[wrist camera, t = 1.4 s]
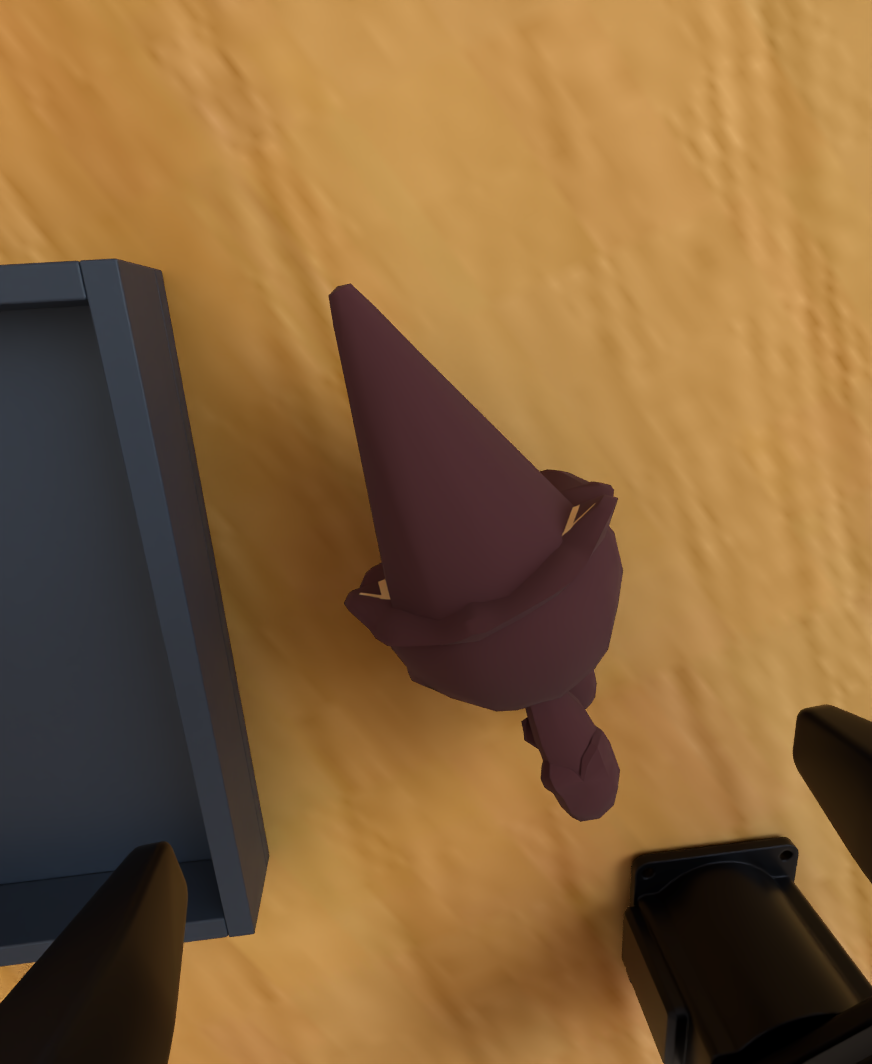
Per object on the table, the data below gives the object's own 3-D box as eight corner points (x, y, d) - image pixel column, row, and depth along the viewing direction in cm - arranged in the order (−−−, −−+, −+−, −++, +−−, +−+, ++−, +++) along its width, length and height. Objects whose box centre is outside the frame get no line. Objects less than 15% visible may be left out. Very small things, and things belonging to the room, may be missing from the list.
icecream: (120, 411, 11) (472, 885, 17) (496, 204, 9) (749, 827, 15) (252, 330, 17) (480, 703, 23) (498, 193, 15) (679, 643, 21)
